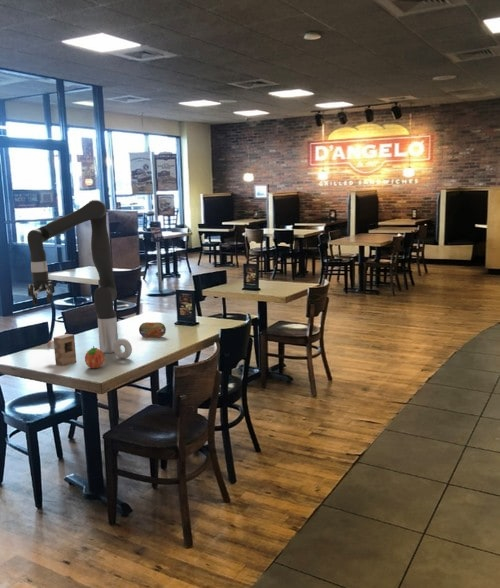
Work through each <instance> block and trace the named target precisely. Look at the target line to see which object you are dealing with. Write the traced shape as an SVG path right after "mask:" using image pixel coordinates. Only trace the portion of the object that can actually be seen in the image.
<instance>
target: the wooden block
mask: <svg viewBox="0 0 500 588" xmlns="http://www.w3.org/2000/svg"><path fill="white" fill-rule="evenodd" d="M52 339H53V341H54V349H53V350H54V359H55V360H54V361H55V365H56V366H61V367H64V366H67V365H70V364H74V363H77V353H76V352H77V351H76V342H75V339H76V338H75V334H72V333H71V334H69V333H65V334H62V335H58V336H54V337H52ZM64 343H67V349H66V350H65V347H64Z"/></svg>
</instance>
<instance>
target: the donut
mask: <svg viewBox="0 0 500 588" xmlns="http://www.w3.org/2000/svg"><path fill="white" fill-rule="evenodd" d="M121 346H122V347H124V351H123V350H122V348H121ZM113 349H114V352H113V353H114V354H115V356H116V357H118V358H119V359H122V360H125V359H127V358H129V357H131V355H132V353H133V347H132V344H131V342H130V341H129V340H127V339H126V338H122V337H120V338H118V340H116V341H115V343H114V345H113Z"/></svg>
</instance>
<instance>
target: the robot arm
mask: <svg viewBox="0 0 500 588" xmlns="http://www.w3.org/2000/svg"><path fill="white" fill-rule="evenodd" d="M88 221H90V226H91V238H90V240H91V241H90V243H91V244H90V250H91V259H92V262H93V264H94V267H95V269H96V271H97V273H98V277H99V287H97V288H96V289H95V290H94V292H93V301H94V302H93V303H94V309H95V310H94V311H95V314H96V315H97V317H96V318H97V328H98V342H99V344H98V345H99V349H100V350H101V351H102V352H103V354H111V353H115V352H114V349H113V345H114V343H115V341H116V340H118V339H119V332H118V321H117V320H118V319H117V311H116V310H115V309H114V305H113V303H114V301H115V300H116V299H117V294H118V293H117V287H116V283H115V278H114V273H113V272H114V271H113V269H114V268H113V260H112V250H111V243H110V237H109V234H108V233H109V232H108V227H107V225H108V224H107V223H108V222H107V206H106V204H105V203H104V202H103V201H102V200H99V199H92V200H90V201H89V202H87V203H86V204H85V205H82V207H80V208H78V209H77V210H74V211H73V212H71V213H67V214H66V215H64V216H61V217H59V218H56V219H54V220H52V221H50V222H48V223H46V224H45V225H42V226H41V227H38V228H35V229H32V230H30V231H28V234H27V237H26V238H27V244H28V250H29V254H30V255H29V256H30V272H31V281H32V284H30V283H29V284H27V296H28V297H29V298H31V300H32V304H33V306H38V305H39V303H38V302H39V301H38V296H39V294H40V292H44V293H45V294H46V300H47V302H46V303H52V300H53V299H52V297H53V296H52V295H53V294H55V293H56V292H55V290H56V289H55V282H54V280H49V271H48V269H49V268H48V264H47V263H48V262H47V253H46V251H45V248H44V242H46V241H48V240H50V239H51V238H54V237H57V236H59V235H61V234H63V233H65V232H68V231H69V230H71V229H73V228H75V227H76V226H78V225H80V224H82V223H85V222H88Z"/></svg>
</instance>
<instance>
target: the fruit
mask: <svg viewBox="0 0 500 588" xmlns="http://www.w3.org/2000/svg"><path fill="white" fill-rule="evenodd" d="M84 362H85V364H86V366H87V367H88V368H90V369H99V368H101V367H102V366H103V364H104V363H105V353H103V352H102V351H101V350H100V348H98V347H95V346H94V345H93V347H92V348H90V349H88V350H87V351H86V353H85V355H84Z"/></svg>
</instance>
